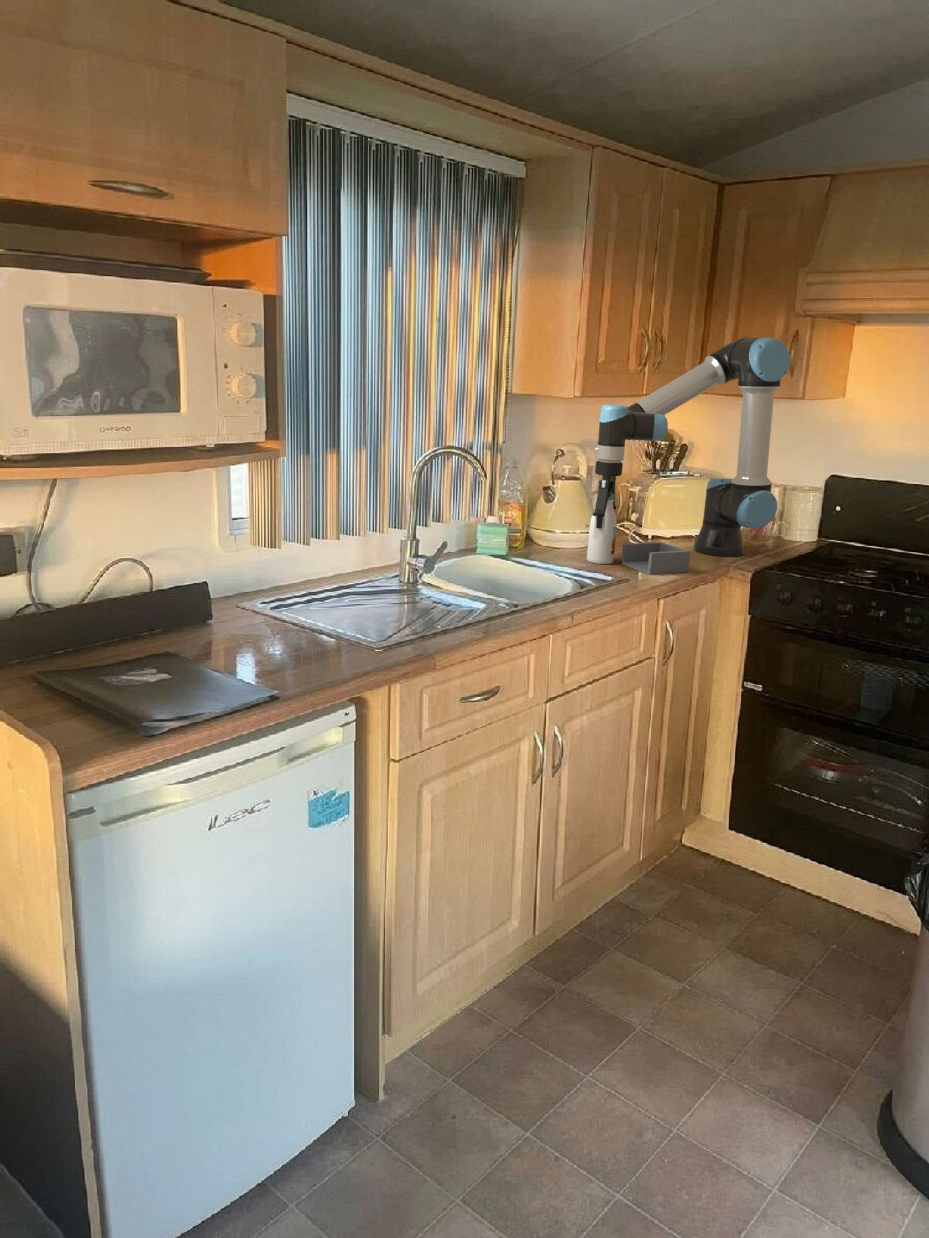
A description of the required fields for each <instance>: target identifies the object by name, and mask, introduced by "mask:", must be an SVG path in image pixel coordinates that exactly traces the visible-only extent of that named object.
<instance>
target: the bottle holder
mask: <svg viewBox="0 0 929 1238" xmlns="http://www.w3.org/2000/svg"><path fill="white" fill-rule="evenodd" d="M621 550H622V551H621V558H620V559H621V560H620V565H622V566H624V567H627V568H630V569H632V568H633V570H635V571H638V572H641V573H644V574H646V573H647V574H646V575H649V574H656V575H666V574H667V573H668V574H667V575H669V574H683V573H689V567H690V557H691V550H687V549H684V548H681V547H678V546H674V545H671V544H668V543H665V542H661V541H655V542H654V541H653V542H651V541H650V542H649V541H648V542H633V543H632V542H631V543H622V549H621ZM664 573H666V574H664Z"/></svg>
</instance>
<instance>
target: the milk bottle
mask: <svg viewBox="0 0 929 1238" xmlns="http://www.w3.org/2000/svg"><path fill="white" fill-rule="evenodd" d="M613 501H614V493H611V496H610V497H609V498H608V502H607V507H606V512H605V516H604V517H605V527H604V537H603V540H598V539H593V536H594V526H595V516H593V514H592V515H591V518H590V522H589V528H588V529H589V533H588V540H587V541H588V542H587V551H586V560H587V562H588V563H592V564H598V565H611V564H613V563H614V559H615V550H616V542H617V541H616V540H617V530H618V528H617V526H618V522H617V521H618V520H617V516H616V513H615V510H614V509H613Z"/></svg>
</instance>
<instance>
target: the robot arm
mask: <svg viewBox="0 0 929 1238" xmlns="http://www.w3.org/2000/svg"><path fill="white" fill-rule="evenodd" d="M790 366H791V355H790V351H789V349H788V347H787V346H786V345H785V343H783V342H782V341H780V340H778V339H776V338H772V337H740V338H737V339H735V340H733V341H731V342H729V343H727V344H725V345H723V346H722V347H721V348H719V349H717V350H716V351H714V352H712V353H710V354H708V355H707V356H705V358H704V361H703V362H702V363H700V364H699V365H697V366H695V367H693V368H692V369H690V370H688V371H687V372H685V373H683V374H682V375H680V376H678V377H677V378H675V379H673V380H672V381H670V382H668V383H666V384H665V385H663V386H662V387H660V388H658V389H656V390H655V391H653V392H652V393H650V394H648V395H646V396H645V397H643V398H642V399H639V400H638V401H636V402H635V403H633V404H631V405H629V406H628V405H624V404H614V403H613V404H612V403H611V404H610V403H609V404H608V403H605V404H604V405H602V406H601V409H600V415H599V421H598V422H599V425H598V426H599V427H598V440H597V447H595V448H594V450H595V452H596V459H597V460H596V461H595V469H594V470H595V471H594V473H595V474H596V475H598V476H602V478H601V479H600V480H599V481H598V492H597V497H596V501H595V508H594V511H593V512H592V515H593V516H595V526H594V536H593V539H598V540H603V537H604V527H605V517H604V516H605V512H606V507H607V502H608V498H609V497H610V496H611V493H614V501H613V509H614V511H616V509H617V505H616V480H617V477H620V476H622V474H623V465H624V463H623V462H622V461H623V460H624V457H625V449H626V448H625V447H626V441H647V442H654V441H655V442H661V441H663V439H665V438H666V436H667V434H668V428H669V422H668V418H667V417H666V415H668V414H669V413H671V412H672V411H674V410H676V409H678V408H679V407H681V406H682V405H684V404H686V403H688V402H689V401H691V400H693V399H694V398H697V396H699V395H702V393H705V392H707V391H708V390H710V389H711V388H713V387H715V386H724V385H725V384H726V383H728V382H731V381H734V380H738V381H737V382H738V383H737V387H738V388H739V390H740V391H741V392H742V401H741V413H740V414H741V415H740V426H739V427H740V429H739V441H738V442H739V443H738V454H737V466H736V476H735V477H733V478H711V479H709V480H708V482H707V485H706V490H705V492H706V493H705V500H704V501H705V502H704V509H703V518H702V525H701V528H700V531H699V533H698V535H697V538H696V539H695V541H694V543H693V550H694V552H695V551H696V552H697V553H701V554H706V555H711V556H719V557H740V556H743V554H744V550H745V549H744V547H745V546H744V545H743V537H742V535H743V534H742V530H741V528H742V527H743V528H745V529H751V530H758V529H761V528H762V529H763V528H764V527H765V526H767V525H768V524H769V523H770V522H771V521H773V520H774V518H775V516H776V514H777V511H778V500H777V498H776V497H775V495H774V494H773V493H772V484H773V482H772V481H771V480H770V479H769V477H768V467H769V466H768V465H769V457H770V447H771V445H770V443H771V435H772V434H771V432H772V420H773V410H774V398H775V392H777V390H779V389H780V388H781V379H783V378H784V377H785V375H786V374H787V373H788V371H789V369H790V368H791V367H790Z"/></svg>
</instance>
